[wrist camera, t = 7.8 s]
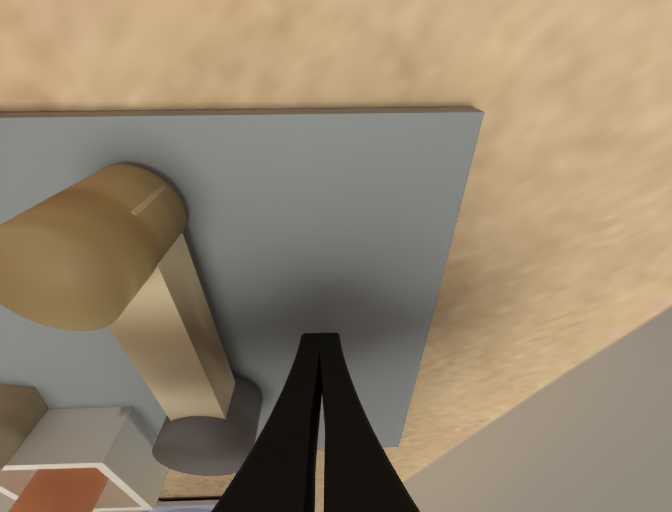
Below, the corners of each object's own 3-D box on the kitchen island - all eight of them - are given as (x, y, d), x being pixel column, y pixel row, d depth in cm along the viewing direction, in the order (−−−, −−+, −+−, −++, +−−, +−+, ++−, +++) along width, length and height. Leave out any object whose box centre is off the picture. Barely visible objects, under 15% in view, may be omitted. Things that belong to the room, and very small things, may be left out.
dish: (172, 459, 19) (154, 509, 17) (70, 462, 19) (39, 513, 17) (132, 406, 15) (102, 462, 13) (4, 410, 15) (-46, 467, 13)
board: (396, 433, 19) (398, 448, 19) (52, 443, 19) (41, 459, 18) (471, 106, 8) (485, 112, 8) (-352, 116, 8) (-420, 123, 7)
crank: (267, 416, 16) (255, 498, 13) (191, 418, 16) (161, 501, 13) (197, 162, 8) (126, 227, 5) (45, 163, 8) (-114, 231, 5)
